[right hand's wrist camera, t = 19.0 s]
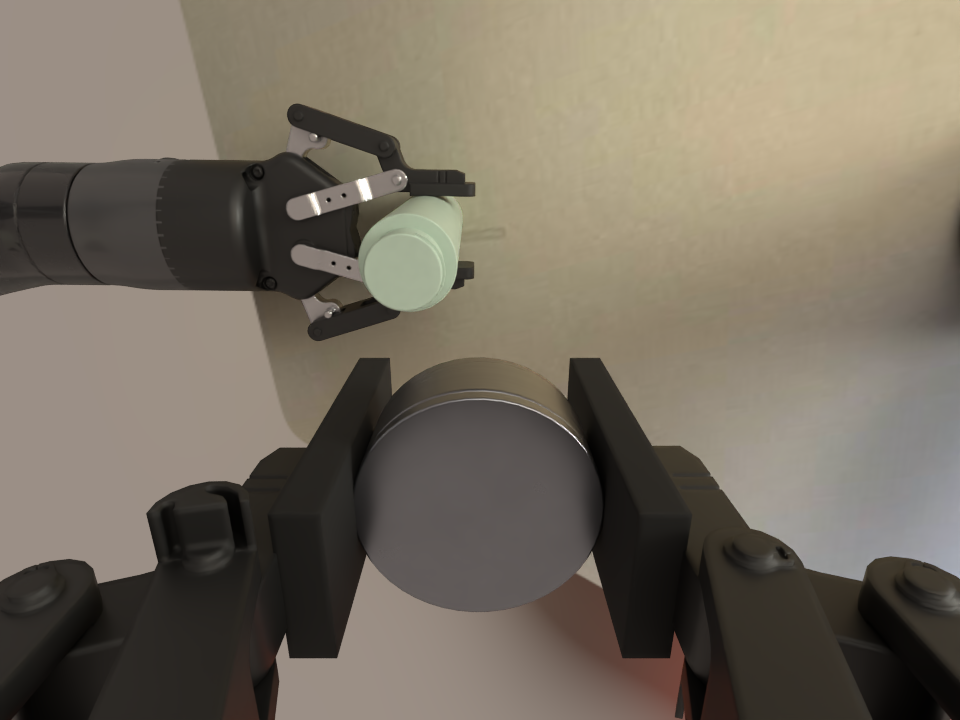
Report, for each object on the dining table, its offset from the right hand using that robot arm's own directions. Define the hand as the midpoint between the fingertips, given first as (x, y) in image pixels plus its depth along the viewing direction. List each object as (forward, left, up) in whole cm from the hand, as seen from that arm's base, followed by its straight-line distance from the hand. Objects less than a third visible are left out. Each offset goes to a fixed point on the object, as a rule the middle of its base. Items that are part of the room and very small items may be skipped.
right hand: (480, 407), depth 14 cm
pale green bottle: (0, -3, -27) cm, 27 cm away
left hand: (-2, -1, -21) cm, 21 cm away
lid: (0, 0, +4) cm, 4 cm away
